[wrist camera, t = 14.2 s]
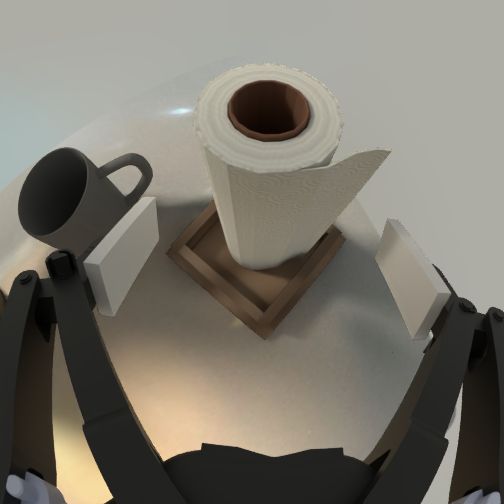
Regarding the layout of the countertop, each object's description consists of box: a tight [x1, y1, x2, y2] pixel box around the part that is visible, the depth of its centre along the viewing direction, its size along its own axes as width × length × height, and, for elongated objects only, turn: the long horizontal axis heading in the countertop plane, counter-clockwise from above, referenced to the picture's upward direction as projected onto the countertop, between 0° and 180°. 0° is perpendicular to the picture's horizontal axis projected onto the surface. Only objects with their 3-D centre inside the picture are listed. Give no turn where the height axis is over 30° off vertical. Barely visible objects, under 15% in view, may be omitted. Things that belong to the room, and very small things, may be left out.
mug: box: [18, 147, 153, 257], centre depth 27 cm, size 14×9×12 cm
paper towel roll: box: [193, 64, 391, 270], centre depth 21 cm, size 7×6×21 cm
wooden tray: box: [166, 200, 346, 340], centre depth 30 cm, size 14×14×4 cm
